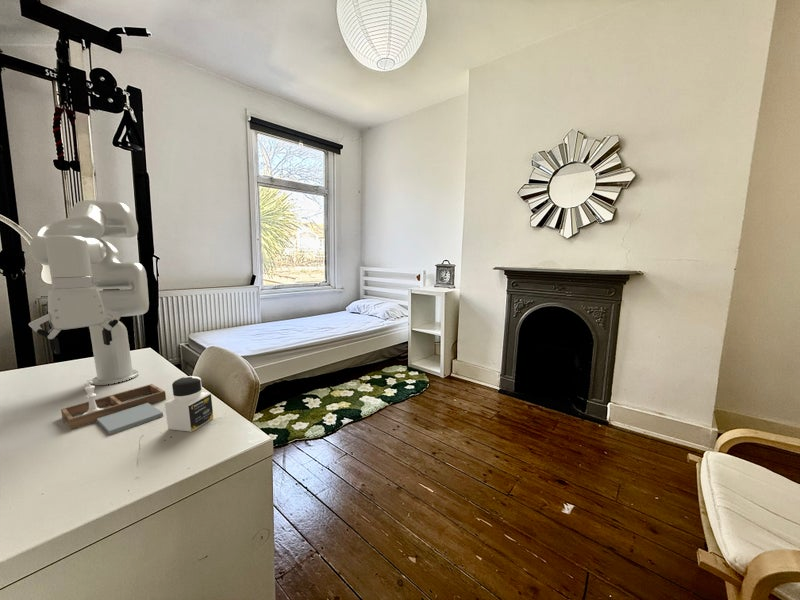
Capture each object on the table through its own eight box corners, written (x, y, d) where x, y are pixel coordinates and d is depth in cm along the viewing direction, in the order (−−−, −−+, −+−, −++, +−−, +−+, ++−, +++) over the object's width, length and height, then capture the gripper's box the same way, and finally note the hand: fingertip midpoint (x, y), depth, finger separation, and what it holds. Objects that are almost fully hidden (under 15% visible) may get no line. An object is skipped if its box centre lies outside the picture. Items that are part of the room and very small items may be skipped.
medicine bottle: (191, 432, 78) (186, 385, 77) (167, 429, 80) (161, 383, 78) (214, 418, 85) (209, 374, 84) (191, 415, 87) (186, 373, 85)
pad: (97, 422, 84) (96, 418, 84) (148, 405, 93) (147, 402, 93) (109, 434, 78) (109, 431, 78) (163, 416, 87) (162, 412, 87)
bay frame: (62, 417, 87) (60, 409, 87) (152, 391, 103) (151, 383, 103) (71, 429, 81) (69, 420, 81) (166, 399, 97) (165, 391, 97)
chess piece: (76, 419, 86) (70, 383, 85) (95, 410, 91) (90, 376, 90) (92, 420, 85) (86, 384, 84) (111, 411, 90) (105, 377, 89)
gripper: (112, 281, 92) (120, 339, 95) (20, 286, 78) (32, 355, 81) (120, 282, 88) (129, 343, 90) (24, 287, 74) (37, 359, 76)
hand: (83, 348), depth 85 cm, fingers open, 9 cm apart
